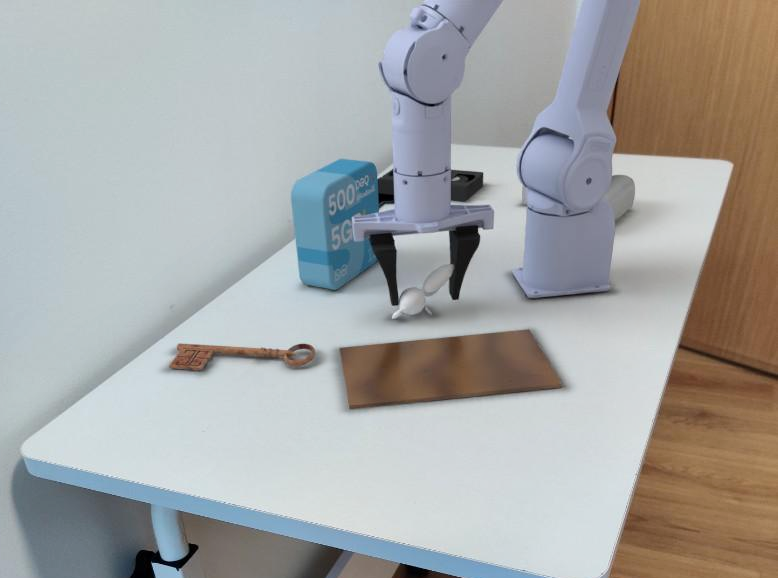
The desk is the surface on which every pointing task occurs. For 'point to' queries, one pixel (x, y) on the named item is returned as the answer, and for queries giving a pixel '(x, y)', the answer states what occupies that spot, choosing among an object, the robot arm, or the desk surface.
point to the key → (202, 357)
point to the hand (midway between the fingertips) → (423, 299)
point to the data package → (333, 222)
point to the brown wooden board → (445, 368)
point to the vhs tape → (461, 184)
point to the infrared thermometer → (613, 194)
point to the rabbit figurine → (423, 292)
